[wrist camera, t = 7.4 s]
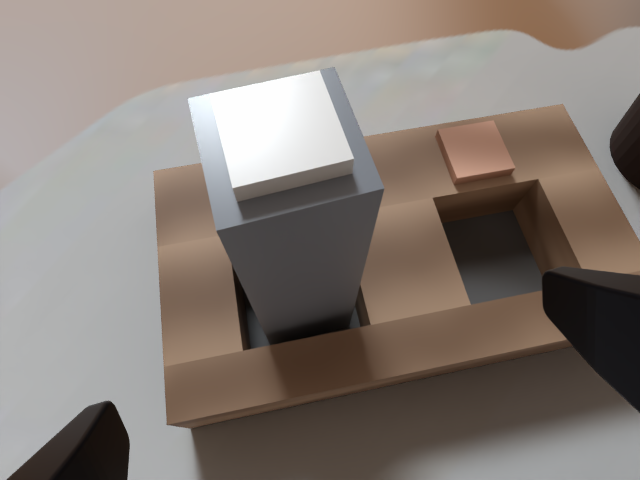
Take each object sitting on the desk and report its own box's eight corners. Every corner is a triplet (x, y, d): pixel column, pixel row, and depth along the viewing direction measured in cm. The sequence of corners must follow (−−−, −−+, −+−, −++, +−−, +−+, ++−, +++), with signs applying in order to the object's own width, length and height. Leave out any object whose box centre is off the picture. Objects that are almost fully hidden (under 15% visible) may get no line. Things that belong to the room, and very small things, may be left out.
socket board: (629, 334, 22) (691, 311, 19) (190, 428, 20) (161, 424, 17) (534, 143, 27) (568, 96, 24) (173, 205, 25) (149, 164, 22)
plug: (349, 325, 22) (388, 173, 10) (271, 348, 22) (210, 218, 9) (326, 255, 24) (335, 48, 12) (253, 274, 23) (181, 81, 11)
